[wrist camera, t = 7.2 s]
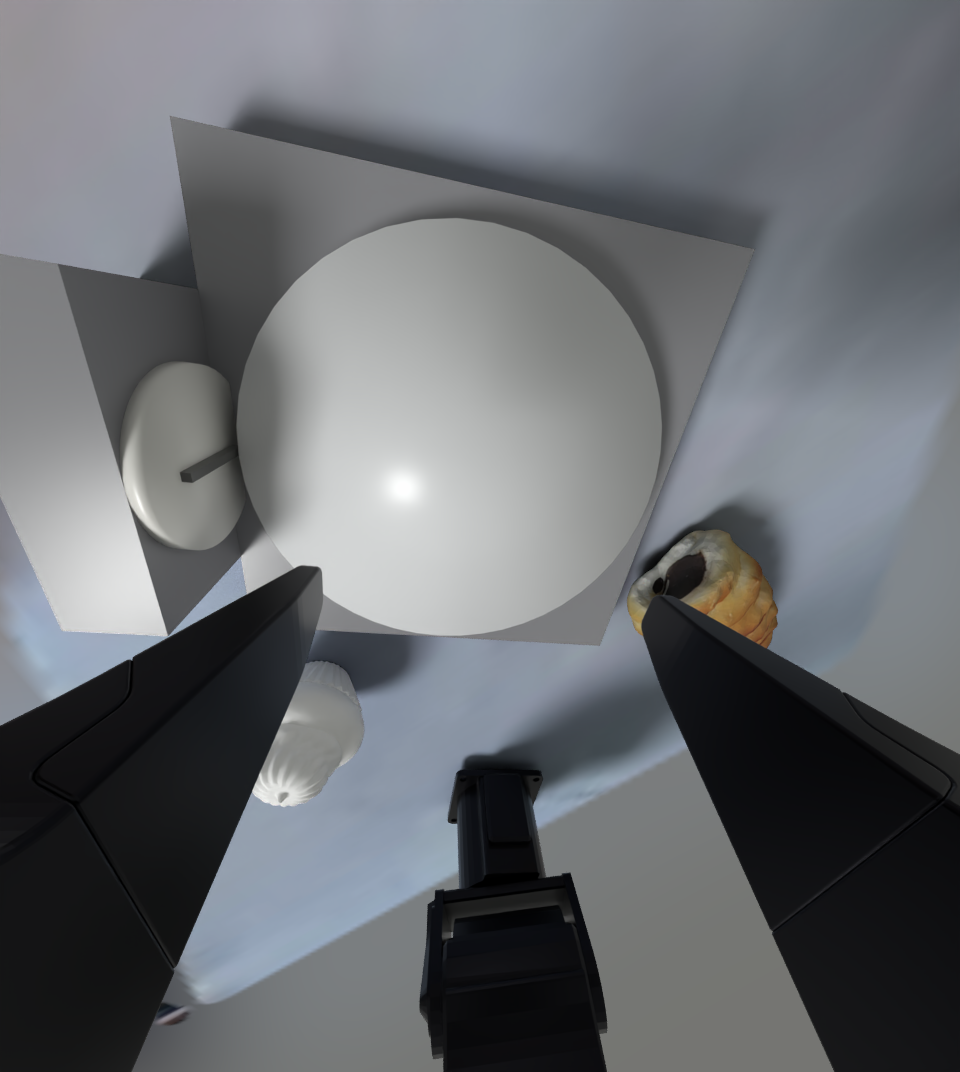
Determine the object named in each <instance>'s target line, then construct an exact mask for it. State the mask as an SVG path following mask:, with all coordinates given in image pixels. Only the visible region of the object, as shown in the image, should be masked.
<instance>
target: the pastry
mask: <svg viewBox="0 0 960 1072" xmlns="http://www.w3.org/2000/svg"><path fill="white" fill-rule="evenodd" d="M656 595H667V596H673V597H675V598H677V599H679V600H681V601H683V602H684V603H686V604H688V605H690V606H691V607H693V608H695V609H697V610H699V611H700V612H702V613H704V614H706V615H708V616H709V617H711V618H713V619H715V620H716V621H718V622H720V623H722V624H724V625H725V626H727V627H729V628H731V629H733V630H734V631H736V632H738V633H740V634H741V635H743V636H745V637H747V638H749V639H750V640H752V641H754V642H756V643H758V644H759V645H761V646H763V647H765V648H766V649H767V647H768V646H769V644H770V643H771V640H772V634H773V630H774V629H775V628H776V627H777V624H778V623H777V618H776V615H777V613H778V609H777V606H776V604H775V602H774V601H773V598H772V596H773V590H772V588H771V586H770V585H769V583H768V581H767V580H766V578H765V576H764V575H763V574H762V569H761V567H760V565H759V564H758V562H757V561H756V560H755V559H753V558H752V557H751V556H750V555H749V554H747V553H746V552H744V551H742V550H741V549H740V548H739V547H738V546H737V545H736V544H735V543H734V542H733V541H732V539H731V537H730V534H729V533H727V532H724V531H721V530H718V529H715V530H707V531H702V530H701V531H694V532H692V533H690V534H688V535H686V536H685V537H684V538H683V539H682V540H680V541H679V542H678V543H677V544H676V545H674V546H673V547H672V548H671V549H670V550H669V552H668V553H667V554H666V555H665V556H664V557H663V558H662V559H661V560H660V561H659V562H658V564H657V565H656V566H655V567H654V568H653V569H651V570H650V571H648V572H646V573H645V574H644V575H642V576H641V577H640V578H639V579H637V580H636V581H635V582H634V583H633V585H632V586H631V589H630V591H629V594H628V598H627V606H628V612H629V614H630V616H631V618H632V622H633V625H634V627H635V630H636V631H637V632H638V633H639V634H640V635H642V636H643V633H642V630H641V623H642V619H643V617H644V615H645V613H646V611H647V608H648V606H649V604H650V602H651V600H652V598H653V597H654V596H656Z"/></svg>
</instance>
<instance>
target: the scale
mask: <svg viewBox="0 0 960 1072" xmlns="http://www.w3.org/2000/svg"><path fill="white" fill-rule="evenodd" d="M170 120H171V126H172V132H173V139H174V145H175V151H176V157H177V163H178V170H179V176H180V182H181V188H182V194H183V201H184V207H185V213H186V219H187V225H188V232H189V238H190V244H191V250H192V256H193V263H194V269H195V275H196V281H197V287H198V289H195V288H189V287H184V286H178V285H173V284H167V283H161V282H156V281H150V280H145V279H139V278H134V277H128V276H122V275H117V274H111V273H106V272H100V271H95V270H89V269H83V268H78V267H72V266H67V265H61V264H55V263H49V262H44V261H38V260H32V259H26V258H20V257H14V256H9V255H3V254H0V497H1V499H2V502H3V504H4V506H5V508H6V510H7V512H8V515H9V517H10V519H11V521H12V523H13V525H14V528H15V530H16V532H17V534H18V536H19V538H20V541H21V543H22V545H23V547H24V549H25V551H26V554H27V556H28V558H29V560H30V562H31V565H32V567H33V569H34V571H35V573H36V575H37V578H38V580H39V582H40V584H41V586H42V588H43V591H44V593H45V595H46V597H47V599H48V601H49V604H50V606H51V608H52V610H53V612H54V614H55V617H56V619H57V621H58V623H59V625H60V628H61V630H62V631H74V632H94V633H114V634H133V635H153V636H169V635H170V634H171V632H172V631H173V630H174V629H175V628H176V627H177V626H178V625H179V624H180V623H181V622H182V620H183V619H184V618H185V617H186V616H187V615H188V614H189V613H190V612H191V611H192V609H193V608H194V607H195V606H196V605H197V604H198V603H199V602H200V601H201V600H202V598H203V597H204V596H205V595H206V594H207V593H208V592H209V591H210V590H211V589H212V587H213V586H214V585H215V584H216V583H217V582H218V581H219V580H220V579H221V578H222V576H223V575H224V574H225V573H226V572H227V571H228V570H229V569H230V568H231V567H232V566H233V564H234V563H235V562H236V561H237V560H238V559H239V558H240V557H241V560H242V567H243V573H244V579H245V585H246V591H247V594H248V593H250V592H252V591H254V590H256V589H257V588H259V587H261V586H263V585H265V584H267V583H268V582H270V581H272V580H274V579H276V578H277V577H279V576H281V575H283V574H285V573H287V572H288V571H290V570H292V569H294V568H296V567H298V566H300V565H307V566H318V567H320V568H321V570H322V581H323V605H322V610H321V613H320V617H319V620H318V624H317V627H316V630H325V631H343V632H362V633H380V634H398V635H416V636H434V637H452V638H470V639H488V640H506V641H524V642H542V643H561V644H579V645H597V646H600V644H601V641H602V639H603V636H604V633H605V631H606V628H607V626H608V623H609V621H610V618H611V616H612V613H613V610H614V608H615V605H616V603H617V600H618V598H619V595H620V593H621V590H622V587H623V585H624V582H625V580H626V577H627V575H628V572H629V570H630V567H631V564H632V562H633V559H634V557H635V554H636V552H637V549H638V547H639V544H640V541H641V539H642V536H643V534H644V531H645V529H646V526H647V524H648V521H649V519H650V516H651V513H652V511H653V508H654V506H655V503H656V501H657V498H658V496H659V493H660V490H661V488H662V485H663V483H664V480H665V478H666V475H667V473H668V470H669V467H670V465H671V462H672V460H673V457H674V455H675V452H676V450H677V447H678V444H679V442H680V439H681V437H682V434H683V432H684V429H685V427H686V424H687V421H688V419H689V416H690V414H691V411H692V409H693V406H694V404H695V401H696V399H697V396H698V393H699V391H700V388H701V386H702V383H703V381H704V378H705V376H706V373H707V370H708V368H709V365H710V363H711V360H712V358H713V355H714V353H715V350H716V347H717V345H718V342H719V340H720V337H721V335H722V332H723V330H724V327H725V324H726V322H727V319H728V317H729V314H730V312H731V309H732V307H733V304H734V301H735V299H736V296H737V294H738V291H739V289H740V286H741V284H742V281H743V279H744V276H745V273H746V271H747V268H748V266H749V263H750V261H751V258H752V256H753V253H754V250H755V249H751V248H747V247H743V246H738V245H734V244H730V243H725V242H721V241H716V240H712V239H708V238H703V237H699V236H694V235H690V234H686V233H681V232H677V231H672V230H668V229H664V228H659V227H655V226H651V225H646V224H642V223H637V222H633V221H629V220H624V219H620V218H615V217H611V216H607V215H602V214H598V213H594V212H589V211H585V210H580V209H576V208H572V207H567V206H563V205H558V204H554V203H550V202H545V201H541V200H536V199H532V198H528V197H523V196H519V195H515V194H510V193H506V192H501V191H497V190H493V189H488V188H484V187H479V186H475V185H471V184H466V183H462V182H457V181H453V180H449V179H444V178H440V177H436V176H431V175H427V174H422V173H418V172H414V171H409V170H405V169H400V168H396V167H392V166H387V165H383V164H379V163H374V162H370V161H365V160H361V159H357V158H352V157H348V156H343V155H339V154H335V153H330V152H326V151H321V150H317V149H313V148H308V147H304V146H300V145H295V144H291V143H286V142H282V141H278V140H273V139H269V138H264V137H260V136H256V135H251V134H247V133H243V132H238V131H234V130H229V129H225V128H221V127H216V126H212V125H207V124H203V123H199V122H194V121H190V120H185V119H181V118H177V117H172V116H170Z"/></svg>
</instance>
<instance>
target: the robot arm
mask: <svg viewBox="0 0 960 1072" xmlns="http://www.w3.org/2000/svg"><path fill="white" fill-rule="evenodd" d="M322 605H323V581H322V570H321V568H320V567H318V566H307V565H300V566H298V567H296V568H294V569H292V570H290V571H288V572H287V573H285V574H283V575H281V576H279V577H277V578H276V579H274V580H272V581H270V582H268V583H267V584H265V585H263V586H261V587H259V588H257V589H256V590H254V591H252V592H250V593H248V594H247V595H245V596H243V597H241V598H239V599H237V600H236V601H234V602H232V603H230V604H228V605H227V606H225V607H223V608H221V609H219V610H217V611H216V612H214V613H212V614H210V615H208V616H207V617H205V618H203V619H201V620H199V621H197V622H196V623H194V624H192V625H190V626H188V627H186V628H185V629H183V630H181V631H179V632H177V633H176V634H174V635H172V636H170V637H168V638H166V639H165V640H163V641H161V642H159V643H157V644H156V645H154V646H152V647H150V648H148V649H146V650H145V651H143V652H141V653H139V654H137V655H135V656H134V657H133V659H132V660H126V661H124V662H122V663H121V664H119V665H117V666H115V667H113V668H112V669H110V670H108V671H106V672H104V673H102V674H101V675H99V676H97V677H95V678H93V679H91V680H89V681H87V682H85V683H84V684H82V685H80V686H78V687H76V688H74V689H72V690H70V691H68V692H67V693H65V694H63V695H61V696H59V697H57V698H55V699H53V700H51V701H49V702H47V703H45V704H43V705H41V706H39V707H37V708H35V709H33V710H31V711H29V712H27V713H25V714H23V715H21V716H19V717H17V718H15V719H13V720H11V721H9V722H7V723H5V724H3V725H1V726H0V1072H132V1070H133V1067H134V1065H135V1063H136V1060H137V1058H138V1055H139V1053H140V1051H141V1049H142V1046H143V1044H144V1042H145V1039H146V1037H147V1035H148V1032H149V1030H150V1028H151V1025H152V1023H153V1021H154V1019H155V1016H156V1014H157V1012H158V1009H159V1007H160V1005H161V1002H162V1000H163V997H164V995H165V993H166V991H167V988H168V986H169V984H170V981H171V979H172V977H173V974H174V969H173V968H175V967H176V966H177V964H178V962H179V960H180V957H181V955H182V953H183V950H184V948H185V946H186V944H187V941H188V939H189V937H190V934H191V932H192V930H193V927H194V925H195V923H196V920H197V918H198V916H199V913H200V911H201V909H202V906H203V904H204V902H205V899H206V897H207V895H208V892H209V890H210V888H211V885H212V883H213V881H214V879H215V876H216V874H217V872H218V869H219V867H220V865H221V862H222V860H223V858H224V855H225V853H226V851H227V848H228V846H229V844H230V841H231V839H232V837H233V834H234V832H235V830H236V827H237V825H238V823H239V821H240V818H241V816H242V814H243V811H244V809H245V807H246V804H247V802H248V800H249V797H250V795H251V793H252V790H253V788H254V786H255V783H256V781H257V779H258V776H259V774H260V772H261V769H262V767H263V765H264V762H265V760H266V758H267V756H268V753H269V751H270V749H271V746H272V744H273V742H274V739H275V737H276V735H277V732H278V730H279V728H280V725H281V723H282V721H283V718H284V716H285V714H286V711H287V709H288V707H289V704H290V702H291V700H292V698H293V695H294V693H295V691H296V688H297V686H298V684H299V681H300V679H301V676H302V673H303V671H304V668H305V664H306V661H307V658H308V654H309V651H310V647H311V644H312V641H313V637H314V634H315V630H316V627H317V624H318V620H319V617H320V613H321V610H322ZM641 630H642V633H643V636H644V639H645V642H646V645H647V648H648V651H649V654H650V657H651V660H652V663H653V666H654V669H655V672H656V675H657V678H658V680H659V683H660V686H661V689H662V691H663V693H664V696H665V698H666V700H667V702H668V705H669V707H670V709H671V711H672V713H673V716H674V718H675V720H676V722H677V724H678V727H679V729H680V731H681V733H682V736H683V738H684V740H685V742H686V744H687V747H688V749H689V751H690V753H691V755H692V757H693V760H694V762H695V764H696V766H697V769H698V771H699V773H700V775H701V778H702V780H703V782H704V784H705V786H706V789H707V791H708V793H709V795H710V797H711V800H712V802H713V804H714V806H715V808H716V810H717V813H718V815H719V817H720V819H721V822H722V824H723V826H724V828H725V830H726V833H727V835H728V837H729V839H730V842H731V844H732V846H733V848H734V850H735V853H736V855H737V857H738V859H739V861H740V864H741V866H742V868H743V870H744V872H745V875H746V877H747V879H748V881H749V884H750V885H751V888H752V890H753V892H754V895H755V897H756V899H757V901H758V903H759V906H760V908H761V910H762V912H763V914H764V917H765V919H766V921H767V923H768V925H769V928H770V929H771V930H772V931H773V932H772V935H773V937H774V939H775V942H776V944H777V946H778V948H779V951H780V952H781V955H782V957H783V959H784V962H785V964H786V966H787V968H788V970H789V973H790V975H791V977H792V979H793V982H794V984H795V986H796V988H797V990H798V992H799V995H800V997H801V999H802V1001H803V1004H804V1006H805V1008H806V1010H807V1012H808V1015H809V1017H810V1019H811V1021H812V1024H813V1026H814V1028H815V1030H816V1032H817V1034H818V1037H819V1039H820V1041H821V1044H822V1046H823V1047H824V1050H825V1052H826V1055H827V1057H828V1059H829V1061H830V1063H831V1066H832V1068H833V1070H834V1072H960V754H958V753H956V752H954V751H952V750H950V749H948V748H946V747H945V746H943V745H941V744H939V743H937V742H935V741H933V740H931V739H929V738H928V737H926V736H924V735H922V734H920V733H918V732H916V731H914V730H912V729H911V728H909V727H907V726H905V725H903V724H901V723H899V722H898V721H896V720H894V719H892V718H890V717H888V716H887V715H885V714H883V713H881V712H879V711H877V710H876V709H874V708H872V707H870V706H868V705H867V704H865V703H863V702H861V701H859V700H858V699H856V698H854V697H852V696H851V695H849V694H847V693H844V692H843V693H842V692H841V691H840V690H839V689H838V688H836V687H834V686H833V685H831V684H829V683H827V682H825V681H824V680H822V679H820V678H818V677H816V676H815V675H813V674H811V673H809V672H808V671H806V670H804V669H802V668H800V667H799V666H797V665H795V664H793V663H791V662H790V661H788V660H786V659H784V658H783V657H781V656H779V655H777V654H775V653H774V652H772V651H770V650H768V649H766V648H765V647H763V646H761V645H759V644H758V643H756V642H754V641H752V640H750V639H749V638H747V637H745V636H743V635H741V634H740V633H738V632H736V631H734V630H733V629H731V628H729V627H727V626H725V625H724V624H722V623H720V622H718V621H716V620H715V619H713V618H711V617H709V616H708V615H706V614H704V613H702V612H700V611H699V610H697V609H695V608H693V607H691V606H690V605H688V604H686V603H684V602H683V601H681V600H679V599H677V598H675V597H673V596H667V595H656V596H654V597H653V598H652V600H651V602H650V604H649V606H648V608H647V611H646V613H645V615H644V617H643V619H642V623H641ZM542 780H543V777H542V772H541V771H539V770H460V771H458V772H457V773H456V777H455V782H454V787H453V792H452V797H451V802H450V806H449V811H448V822H449V823H451V824H457V826H458V863H459V889H456V890H448V891H444V889H442V890H435V900H434V901H432V902H431V903H429V904H428V912H427V913H428V914H427V939H426V950H425V959H424V967H423V975H422V984H421V992H420V1013H421V1015H422V1016H423V1017H424V1019H425V1020H426V1022H427V1023H428V1030H429V1037H431V1047H432V1056H433V1059H439V1058H443V1061H444V1063H443V1069H444V1072H607V1070H606V1065H605V1060H604V1055H603V1050H602V1045H601V1040H600V1035H599V1034H603V1033H607V1018H606V1009H605V1003H604V997H603V992H602V986H601V982H600V977H599V972H598V968H597V964H596V960H595V957H594V953H593V949H592V946H591V942H590V939H589V935H588V932H587V928H586V925H585V921H584V918H583V914H582V911H581V908H580V904H579V901H578V897H577V894H576V891H575V887H574V883H573V880H572V877H571V873H562V875H561V876H553V877H546V874H545V868H544V863H543V858H542V853H541V847H540V842H539V836H538V831H537V826H536V820H535V815H534V810H533V804H534V801H535V799H536V796H537V794H538V791H539V788H540V786H541V783H542ZM451 932H453V938H451Z"/></svg>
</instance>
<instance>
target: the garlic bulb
mask: <svg viewBox="0 0 960 1072" xmlns="http://www.w3.org/2000/svg"><path fill="white" fill-rule="evenodd" d="M361 711H362V709H361V706H360V703H359V700H358V698H357V695H356V693H355V690H354V687H353V685H352V682H351V680H350V677H349V675H348V674H347V672H346V671H345V670H344V669H343V668H341V667H340V666H339V665H335V664H334V663H329V662H328V661H326V662H324V661H315V662H312V661H311V662H309V663H306V664H305V668H304V671H303V673H302V676H301V679H300V681H299V684H298V686H297V688H296V691H295V693H294V695H293V698H292V700H291V702H290V704H289V707H288V709H287V711H286V714H285V716H284V718H283V721H282V723H281V725H280V728H279V730H278V732H277V735H276V737H275V739H274V742H273V744H272V746H271V749H270V751H269V753H268V756H267V758H266V760H265V762H264V765H263V767H262V769H261V772H260V774H259V776H258V779H257V781H256V783H255V786H254V788H253V790H252V792H253V793H254V795H255V796H256V797H258V798H260V799H261V801H263V802H265V803H271V805H273V806H277V805H281V806H282V807H285V806H287V805H290V806H296V805H298V804H302V803H306V802H308V801H309V800H310V799H311V798H313V797H315V796H316V795H318V794H319V793H320V792H321V790H322V787H323V786H324V785H325V784H326V783H327V780H328V777H330V776H331V775H332V774H333V772H334V770H335V769H337V768H338V767H340V766H342V765H343V764H345V763H346V762H348V761H349V760H350V759H351V758H352V757H353V756H354V755H355V754H356V753H357V751H358V749H359V748H360V746H361V743H362V740H363V737H364V721H363V718H362V714H361Z"/></svg>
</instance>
